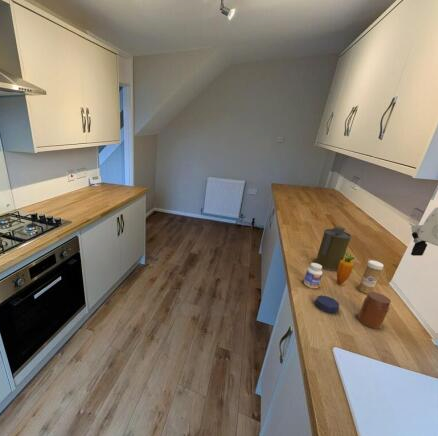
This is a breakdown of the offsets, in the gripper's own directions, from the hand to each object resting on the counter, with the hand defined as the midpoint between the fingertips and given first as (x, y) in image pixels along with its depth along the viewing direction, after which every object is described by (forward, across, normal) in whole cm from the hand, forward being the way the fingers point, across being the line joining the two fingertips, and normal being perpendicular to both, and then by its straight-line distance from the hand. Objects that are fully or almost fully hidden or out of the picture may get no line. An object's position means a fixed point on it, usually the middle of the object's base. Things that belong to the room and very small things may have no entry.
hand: (434, 263), depth 69 cm
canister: (+26, -42, +8) cm, 50 cm away
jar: (+26, -5, -6) cm, 27 cm away
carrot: (+26, -27, +1) cm, 38 cm away
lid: (+24, -13, -16) cm, 31 cm away
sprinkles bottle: (+26, -22, +8) cm, 35 cm away
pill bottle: (+26, -26, -12) cm, 39 cm away
